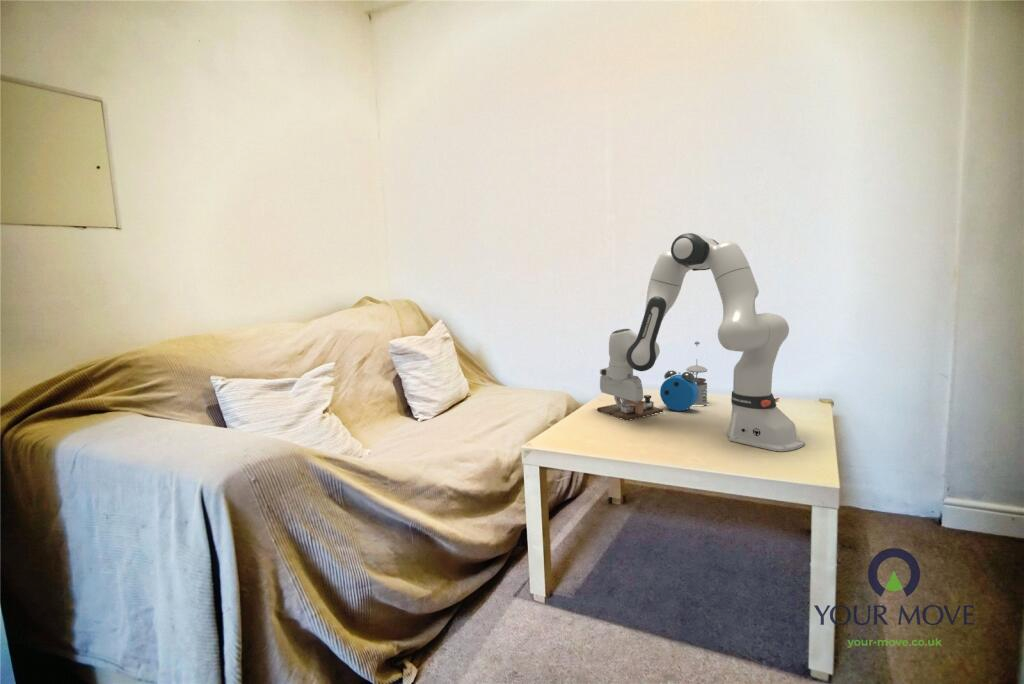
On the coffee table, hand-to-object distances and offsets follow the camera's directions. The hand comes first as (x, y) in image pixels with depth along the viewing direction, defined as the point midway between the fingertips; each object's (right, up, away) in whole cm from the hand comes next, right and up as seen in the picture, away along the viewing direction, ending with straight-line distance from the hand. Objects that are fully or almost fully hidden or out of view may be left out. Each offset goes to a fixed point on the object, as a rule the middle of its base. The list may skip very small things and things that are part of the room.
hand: (621, 408), depth 199 cm
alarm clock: (+23, -1, +4) cm, 23 cm away
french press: (+33, 0, +13) cm, 35 cm away
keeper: (+5, -1, -1) cm, 5 cm away
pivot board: (+4, -2, +3) cm, 6 cm away
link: (+6, 0, 0) cm, 6 cm away
